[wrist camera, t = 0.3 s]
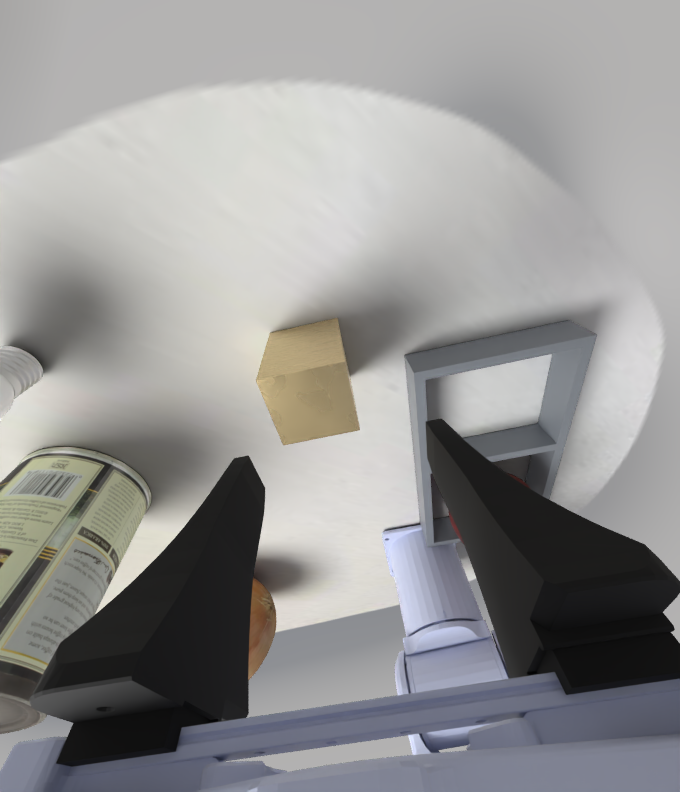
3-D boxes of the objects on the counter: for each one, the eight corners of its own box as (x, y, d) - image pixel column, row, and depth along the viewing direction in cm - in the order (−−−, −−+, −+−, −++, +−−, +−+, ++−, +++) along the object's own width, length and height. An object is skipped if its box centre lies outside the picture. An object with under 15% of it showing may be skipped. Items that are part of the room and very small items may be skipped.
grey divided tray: (526, 506, 33) (540, 527, 31) (420, 525, 34) (427, 547, 32) (569, 320, 21) (597, 334, 19) (404, 355, 22) (413, 373, 20)
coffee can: (75, 532, 30) (-71, 748, 19) (-14, 460, 25) (-306, 707, 13) (175, 512, 30) (87, 722, 18) (106, 433, 24) (-87, 668, 12)
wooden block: (349, 376, 23) (360, 429, 18) (289, 388, 23) (283, 445, 18) (337, 317, 20) (344, 361, 15) (270, 332, 20) (255, 380, 15)
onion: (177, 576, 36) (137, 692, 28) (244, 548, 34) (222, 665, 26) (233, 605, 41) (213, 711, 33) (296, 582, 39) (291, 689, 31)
